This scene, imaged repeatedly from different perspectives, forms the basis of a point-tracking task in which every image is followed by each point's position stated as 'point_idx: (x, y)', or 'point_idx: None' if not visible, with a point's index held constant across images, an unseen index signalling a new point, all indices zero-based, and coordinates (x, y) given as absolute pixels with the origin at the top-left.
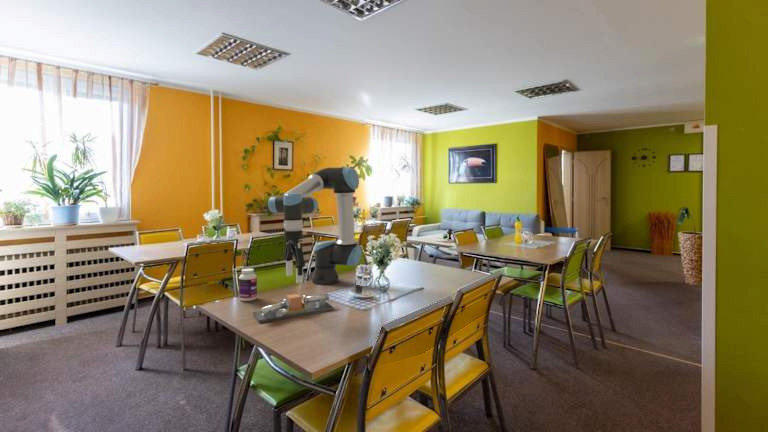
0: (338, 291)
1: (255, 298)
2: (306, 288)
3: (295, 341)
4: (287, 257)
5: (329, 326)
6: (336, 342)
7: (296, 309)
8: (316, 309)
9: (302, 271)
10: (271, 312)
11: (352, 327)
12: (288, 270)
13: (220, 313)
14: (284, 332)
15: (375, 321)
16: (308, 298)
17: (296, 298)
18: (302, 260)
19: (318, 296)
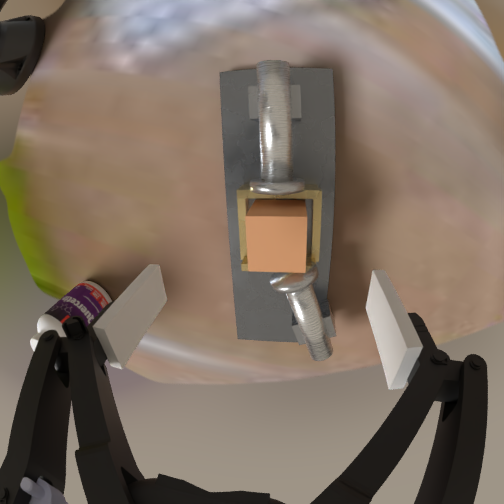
0: (113, 8)
1: (102, 289)
2: (44, 114)
3: (480, 291)
4: (112, 393)
5: (467, 173)
6: None
7: (316, 229)
8: (325, 142)
9: (409, 322)
10: (334, 328)
11: (498, 123)
12: (149, 310)
13: (192, 377)
14: (425, 299)
15: (484, 43)
16: (288, 169)
17: (306, 241)
18: (479, 410)
19: (284, 113)
